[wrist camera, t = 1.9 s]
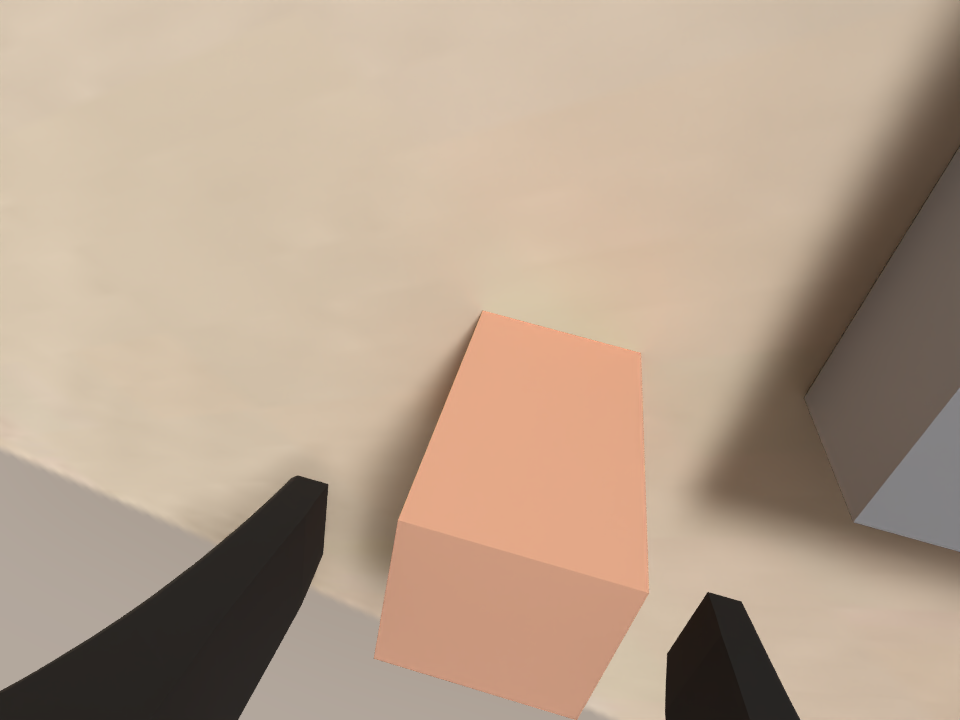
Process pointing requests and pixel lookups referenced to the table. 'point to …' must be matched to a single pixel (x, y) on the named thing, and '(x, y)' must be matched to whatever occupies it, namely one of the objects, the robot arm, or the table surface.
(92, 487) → the table surface
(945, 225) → the socket board
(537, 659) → the peg
